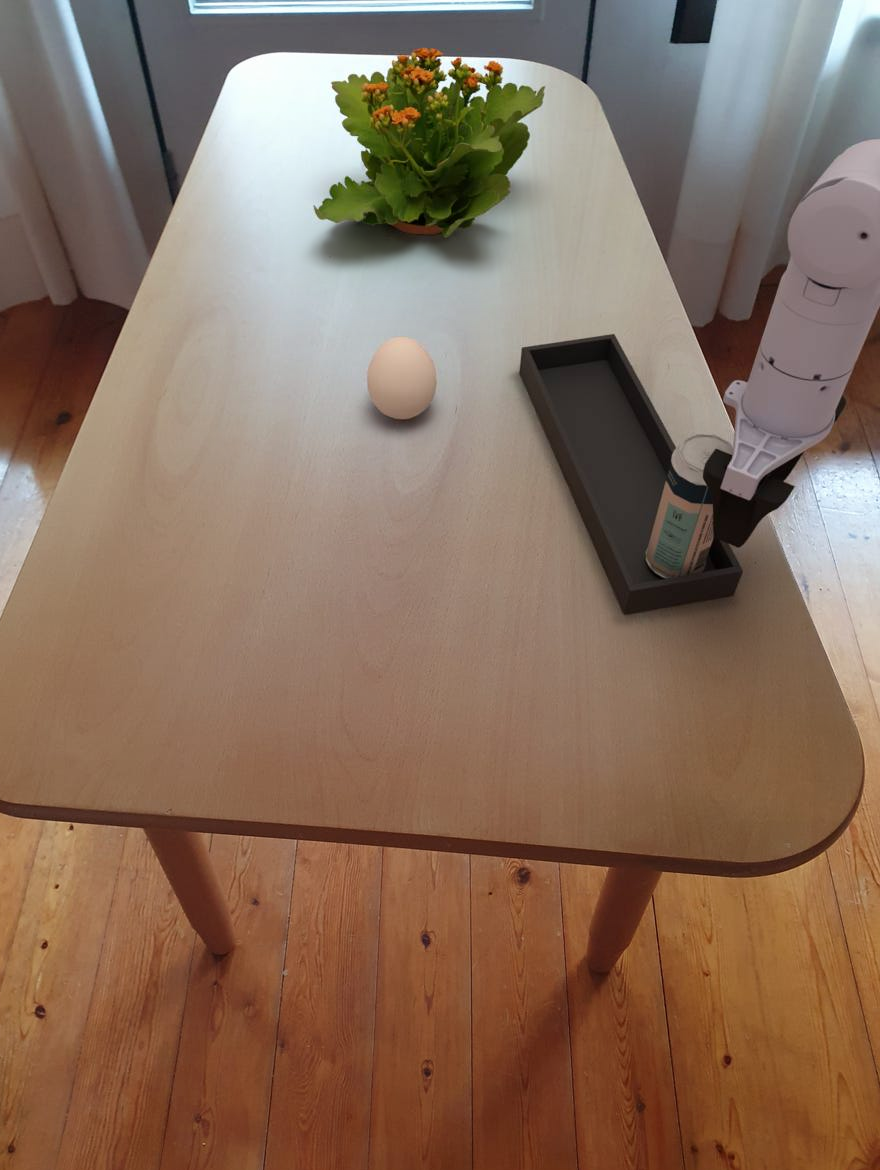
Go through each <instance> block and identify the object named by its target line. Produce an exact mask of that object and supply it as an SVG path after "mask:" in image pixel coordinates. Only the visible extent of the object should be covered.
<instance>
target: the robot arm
mask: <svg viewBox="0 0 880 1170" xmlns="http://www.w3.org/2000/svg"><path fill="white" fill-rule="evenodd" d="M787 228H788V229H787V247H788V251H789V254H790V256H789V261H788V264H787V268H786V270H785V271H784V272H783V274H782V276H781V277H780V281H779V284H778V288H777V290H776V293H775V298H774V300H773V302H772V305H771V309H770V313H769V315H768V318H767V322H766V325H765V328H764V331H763V334H762V337H761V340H760V343H759V346H758V350H757V353H756V355H755V358H754V361H753V365H752V368H751V371H750V375H749V377H748V380H747V381H744V380H740V379H737V380H733V381H731V383H730V384H729V386H728V387H727V388H726V390H725V391H724V394H723V399H722V401H723V404H725V405H727V406H730V407H732V408H733V409H734V410H735V421H734V430H733V431H734V432H733V433H734V434H733V444H732V447H733V455H731V454H729V453H726V452H724V451H721V450H719V449H715V450H714V452H713V453H712V454H711V456H710V457H709V459H708V460H707V461H706V463H705V466H704V470H703V480H704V481H705V483H706V485H707V487H708V489H709V491H710V494H711V498H712V503H713V535H714V538H716V539H719V540H721V541H723V542H726V543H728V544H729V546H733V547H735V548H737V549H740V548H742V547H743V546H744V544H746V542H747V541H748V540H749V538H750V537H751V536H752V534H753V532H754V531H755V529H757V526H758V525H759V523H760V522H761V521H762V520H763V519H764V518H765V517H766V516H767V515H769V514H770V513H772V512H774V511H776V510H778V509H779V508H780V507H781V506H782V505H784V503H785V502H786V501H787V500H788V499H789V497H790V495H791V493H793V491H794V489H795V487H796V486H795V485H793V484H790V483H788V482H785V481H786V479H787V478H788V477H789V476H790V474H791V473H792V472H793V470H794V469H795V467H796V466H797V464H798V462H799V461H800V460H801V458H802V456H803V455H804V453H805V452H806V451H807V450H809V449H811V448H812V447H813V446H815V445H817V444H819V443H820V442H822V440H824V439H826V437H827V436H828V435H829V434H830V433H831V431H832V428H833V426H834V423H836V422H837V421H838V419H839V418H840V416H841V415H842V413H843V411H844V409H845V407H846V405H847V400H846V397H844V395H843V394H844V391H845V389H846V387H847V384H848V382H849V380H850V377H851V376H852V372H853V370H854V368H855V366H856V363H857V360H858V359H859V355H860V353H861V351H862V349H863V347H864V345H865V341H866V339H867V337H868V335H869V332H870V330H871V327H872V325H873V323H874V320H875V318H876V316H877V313H878V312H879V309H880V138H876V139H868V140H864V141H863V140H862V141H861V142H858V143H855V144H853V145H851V146H849V147H848V148H846V149H845V150H844V151H843V152H842V153H841V154H838V155H837V156H836V158H834V160H833V161H832V162H831V163H830V165H829V166H827V168H826V170H825V171H824V172H823V173H822V174H821V176H819V178H818V179H817V181H816V182H814V184H813V186H811V188H810V189H809V190H808V191H807V193H806V194H804V196H803V198H802V199H801V200H800V201H799V203H798V204H797V206H796V209H795V211H793V213H792V216H791V218H790V221H789V223H788V227H787Z"/></svg>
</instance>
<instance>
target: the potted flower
mask: <svg viewBox="0 0 880 1170" xmlns="http://www.w3.org/2000/svg"><path fill="white" fill-rule="evenodd" d="M443 55H444V52H441V51H440V50H438V49H436V48H432V47H430V49H429V48H428V47H419V48H418V49H413V50H412V52H411V54H410V55H406V54H404V55H403V54H400V55H397V56H396V58H397V60H394V59H392V60H391V66H392V67H389V68H388V70H387V74H386V77H385V76H384V75H383V73H381V72H380V71H373V73H371V76H370V79H369V78H368V77H367V76H366V75H365V74H364V73H363V74H361V75H360V76H359V75H358V74H357V73H351V74H349V75H348V76H347V80H348V81H347V80H345V79H344V80H343V81H340V80H336V81H331V82H330V84H331V88H332V90H333V91H334V92H335V93H337V94H336V95H335V96H334V101H335V104H336V106H337V107H338V108H339V113H340V114H341V115H343V116H344V117H345V118H344V119H343V120H342V121H341V126H342V127H343V129H344V130H345V131H346V132H348V133H349V135H350V136H351V137H357V138H356V141H357V142H358V144H360V145H361V146H362V147H364V148H365V150H361V151H360V158H361V162H362V163H363V166H364V167H365V169H367V170H366V171H365V175H366V177H367V178H368V181H365V180H361V181H360V184H359V182H357V181H356V180H354V179H352V178H351V177H350V176H348V175H345V177H344V185H345V186H346V187H345V186H344V185H343V183H341V182H340V181H338V182H337V183H334V184H332V185H331V186H330V188H329V190H328V191H329V192H328V193H329V195H330V197H331V198H329V197H326V198H324V199H323V200H322V201H321V203H322V205H320V206H318V208H317V206H316V205H314V204H313V205H312V206H313V210H314V213H315V216H317V219H319V220H322V221H324V220H328V221H330V222H333V223H335V224H338V223H341V222H346V221H354V222H357V223H359V222H361V221H363V223H364V224H366V225H371V226H375V225H376V224H378V225H381V224H388V225H391V226H392V227H394V228H395V229H397V230H398V231H401V232H403V233H407V234H408V235H409V234H410V235H430V236H432V235H437V234H440V233H441V234H442V235H443V237H444V238H445V239H446V238H448V237H449V236H450V235H452V234H453V233H454V232H455V231H456V230H457V228H458V229H462V230H465V229H466V230H467V229H469V228H470V227H472V225H473V222H474V221H475V220H476V218H477V217H480V216H482V215H484V214H486V213H487V212H489V210H491V209H492V208H493V207H495V206H497V205H498V204H500V203H501V202H503V201H504V200H505V198H506V197H507V196H509V194H510V193H511V190H510V188H511V180H509V177H508V175H507V174H508V173H509V171H510V170H511V169H512V168H513V167H514V165H516V163H517V162H518V160H519V159H521V157H522V155H524V151H525V150H526V149H527V147H528V145H529V144H528V143H529V140H530V138H531V133H530V131H529V127H528V125H527V124H525V123H524V122H522V121H521V120H522V119H524V118H526V116H528V115H530V114H531V113H533V112H534V111H536V110H537V109H539V108H541V107H542V105H543V104H544V97H545V89H546V86H545V85H543V86H541V87H540V89H539V90H538V91H537V90H534V89H533V88H532V87H531V86H529V85H523V84H522V85H520V86H519V87H518V86H517V84H516V83H513V82H507V83H505V84H504V85H503V87H502V86H501V85H500V84H502V83H503V77H502V74H503V73H504V71H503V70H504V66H502V65H501V63H499V62H498V61H497V62H496V61H495V60H490V61H488V64H487V65H485V64H484V65H483V69H484V70H485V71H488V73H487V72H486V73H485V74H484V76H483V74H482V73H479V72H476V68H475V67H472V66H469V64H467V63H466V62H465V63H462V57H456V58H455V59H454V60H450V64H451V65H452V67H453V68H452V69H448V72H447V73H445V71H444V70H443V69H442V70H440V69H441V67H440V66H441V65H442V62H441V57H442V56H443ZM447 76H449V78H451V79H452V80H454V81H455V82H454V81H451V82H450V84H449V87H448V86H443V87H442V88H441V89H440V91H437V90H438V89H439V87H440V86H439V84H440V83H441V82H446V81H447V80H448V78H447ZM481 84H482V85H485V86H484V87H485V89H486V90H487V93H486V95H485V98H484V97H482V96H480V95H478V96H475V95H474V96H473V97H472V95H473V94H476V93H477V92H480V90H481ZM519 121H520V122H519ZM369 180H370V181H369Z"/></svg>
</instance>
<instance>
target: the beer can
mask: <svg viewBox="0 0 880 1170" xmlns="http://www.w3.org/2000/svg"><path fill="white" fill-rule="evenodd" d="M715 449H719V450H721V451H724V452H726V453H729V454H731V455H733V445H732V444H731V442H730V441H728V440H726V439H724V438H722V437H720V436H719V435H716V434H710V433H709V434H707V433H706V434H705V433H697V434H694V435H692V436H690V437H688V438H685V439H683V441H682V442H681V443H680V444H679V445H677V446H676V449H675V450H674V452H673V454H672V458H671V464H670V468H669V471H668V475H667V479H666V482H665V486H664V490H663V494H662V497H661V501H660V505H659V508H658V512H657V516H656V519H655V523H654V527H653V531H652V534H651V538H650V542H649V545H648V548H647V551H646V561H647V563H648V565H649V567H650V568H651V569H652V570H653V571H654V572H655V573H656V574H658V575H659V576H661V577H663V578H665V579H667V578H673V577H679V576H684V575H690V574H696V573H702V571H703V570H704V568H705V564H706V558H707V555H708V552H709V550H710V547H711V544H712V541H713V538H714V535H713V503H712V498H711V494H710V491H709V489H708V487H707V485H706V483H705V481H704V480H703V470H704V466H705V463H706V461H707V460H708V459H709V457H710V456H711V454H712V453H713V452H714V450H715Z"/></svg>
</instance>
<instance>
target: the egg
mask: <svg viewBox="0 0 880 1170" xmlns="http://www.w3.org/2000/svg"><path fill="white" fill-rule="evenodd" d="M366 374H367V375H366V383H367V384H366V385H367V392H368V396H369V398H370V400H371V401H372V403H373V405H374V406H375V407H376V408H377V409H378V410H379V411H380V412H381V413H382V414H384V415H385V416H387V417H389V418H392V419H394V420H401V421H402V420H409V419H412V418H415V417H416V416H419V415H420V414H421V413H422V412H424V411H425V410H426V409H427V408H428V407H429V406H430V404H431V403H432V401H433V399H434V397H435V395H436V390H437V385H438V383H437V382H438V381H437V371H436V367H435V363H434V360H433V359H432V357H431V355H430V354H429V351H428V350H427V349H426V348H425V347H424V346H423V344H421V343H420V342H419V341H417V340H415V339H414V338H411V337H407V336H395V337H392V338H389V339H387V340H386V341H384V342H383V343H382V344H380V346H379V347H378V348H377V349H376V351H375V352H374V354H373V356H372V358H371V360H370V361H369V364H368V368H367V373H366Z"/></svg>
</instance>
